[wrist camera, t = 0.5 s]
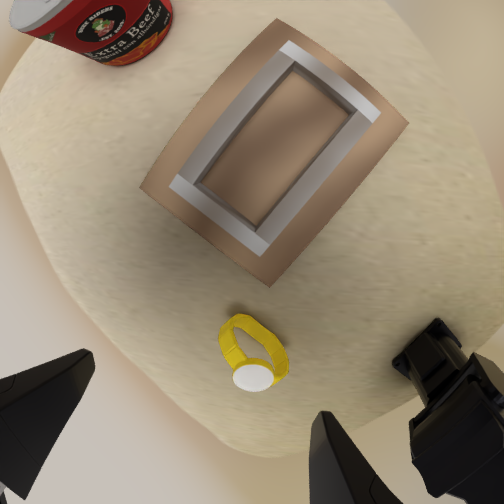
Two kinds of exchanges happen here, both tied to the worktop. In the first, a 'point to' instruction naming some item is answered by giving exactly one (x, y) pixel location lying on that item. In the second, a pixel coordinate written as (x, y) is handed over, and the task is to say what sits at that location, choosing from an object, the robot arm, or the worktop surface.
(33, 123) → the worktop surface
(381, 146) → the track board
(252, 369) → the watch
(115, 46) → the canned food
